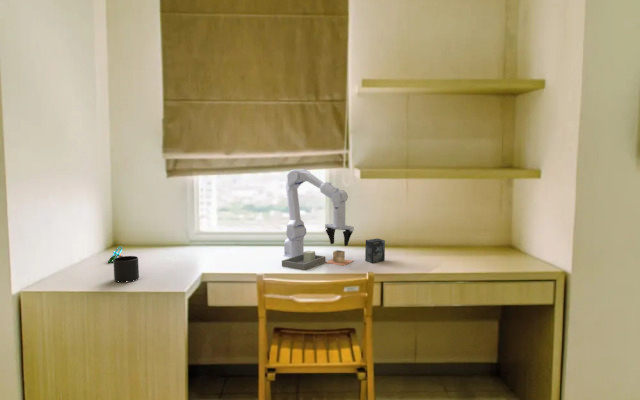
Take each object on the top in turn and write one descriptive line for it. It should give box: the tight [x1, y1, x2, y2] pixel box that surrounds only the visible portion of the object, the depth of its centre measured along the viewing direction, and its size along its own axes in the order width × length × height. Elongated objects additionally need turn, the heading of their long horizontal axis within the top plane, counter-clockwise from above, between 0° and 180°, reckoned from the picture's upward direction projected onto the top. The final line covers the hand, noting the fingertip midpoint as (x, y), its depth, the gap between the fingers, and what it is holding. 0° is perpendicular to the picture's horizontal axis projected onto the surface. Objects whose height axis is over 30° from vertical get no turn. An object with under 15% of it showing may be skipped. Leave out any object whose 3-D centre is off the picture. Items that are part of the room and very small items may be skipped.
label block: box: [332, 249, 346, 263], centre depth 217 cm, size 4×4×5 cm
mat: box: [324, 258, 354, 267], centre depth 218 cm, size 10×10×1 cm
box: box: [364, 238, 386, 264], centre depth 220 cm, size 8×6×11 cm
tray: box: [281, 253, 326, 271], centre depth 214 cm, size 13×18×3 cm
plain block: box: [304, 250, 316, 263], centre depth 218 cm, size 4×4×5 cm
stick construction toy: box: [107, 246, 123, 264], centre depth 222 cm, size 12×7×8 cm
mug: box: [112, 255, 140, 283], centre depth 191 cm, size 9×12×9 cm
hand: (339, 244), depth 217 cm, fingers open, 7 cm apart
